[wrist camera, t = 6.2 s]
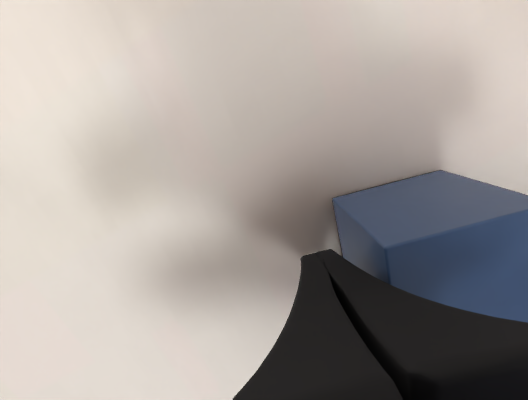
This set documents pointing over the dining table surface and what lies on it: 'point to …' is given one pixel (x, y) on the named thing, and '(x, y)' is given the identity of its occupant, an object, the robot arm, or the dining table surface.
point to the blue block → (442, 241)
